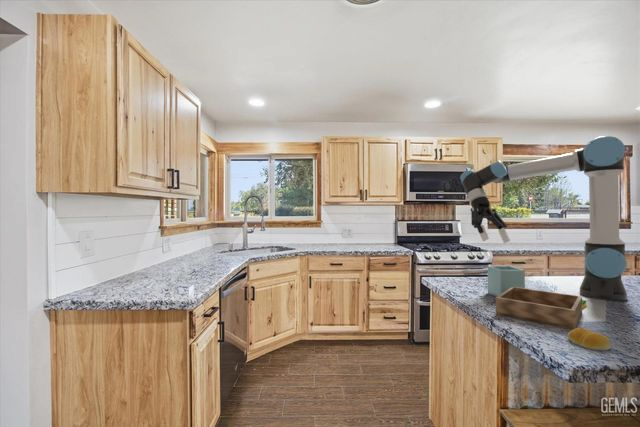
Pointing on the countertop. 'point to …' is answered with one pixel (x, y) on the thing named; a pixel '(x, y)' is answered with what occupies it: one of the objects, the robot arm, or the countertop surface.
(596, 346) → the bread roll
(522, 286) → the small teal crate
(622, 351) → the countertop surface
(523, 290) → the big walnut crate
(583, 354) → the countertop surface
